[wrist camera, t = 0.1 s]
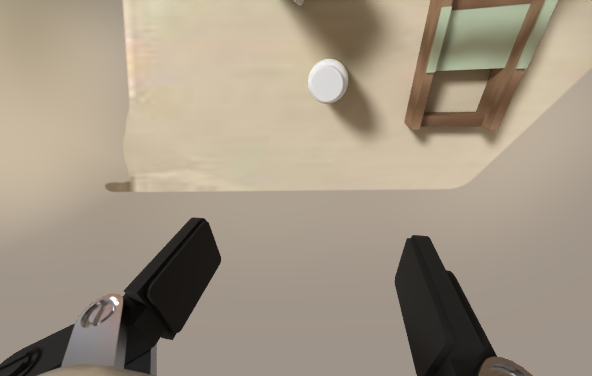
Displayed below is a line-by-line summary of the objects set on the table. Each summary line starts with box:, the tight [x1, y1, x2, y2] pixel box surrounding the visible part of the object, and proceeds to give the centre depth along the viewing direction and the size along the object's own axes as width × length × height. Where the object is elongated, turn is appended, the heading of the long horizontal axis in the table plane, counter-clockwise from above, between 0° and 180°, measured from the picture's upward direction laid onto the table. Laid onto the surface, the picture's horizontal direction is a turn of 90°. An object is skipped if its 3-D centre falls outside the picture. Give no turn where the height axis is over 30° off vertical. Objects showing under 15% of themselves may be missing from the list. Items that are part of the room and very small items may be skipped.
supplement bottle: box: [308, 59, 348, 104], centre depth 29 cm, size 5×5×10 cm
